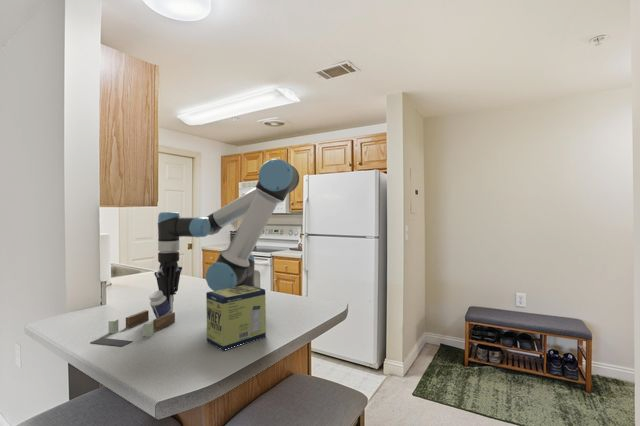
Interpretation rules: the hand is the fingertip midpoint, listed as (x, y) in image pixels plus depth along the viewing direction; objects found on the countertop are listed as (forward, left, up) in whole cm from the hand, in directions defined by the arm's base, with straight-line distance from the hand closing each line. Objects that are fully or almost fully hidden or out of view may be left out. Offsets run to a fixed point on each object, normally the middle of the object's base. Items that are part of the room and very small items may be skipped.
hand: (168, 311), depth 127 cm
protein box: (-38, +16, -2) cm, 41 cm away
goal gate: (-1, +19, -2) cm, 19 cm away
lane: (-1, +10, -2) cm, 10 cm away
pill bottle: (-1, +3, -1) cm, 3 cm away
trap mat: (-1, +27, -2) cm, 27 cm away
